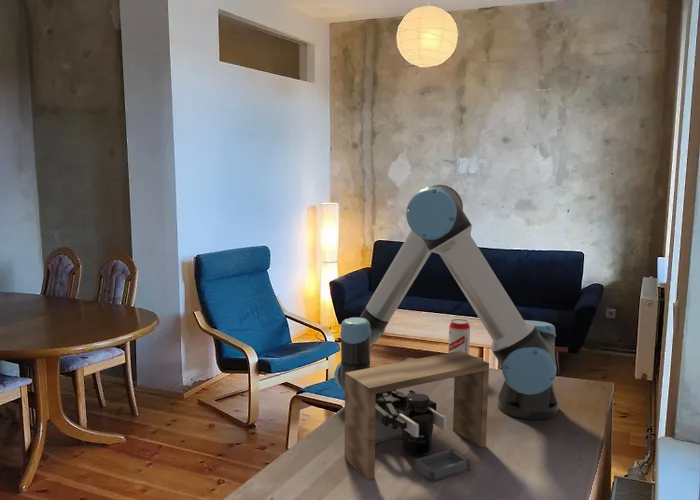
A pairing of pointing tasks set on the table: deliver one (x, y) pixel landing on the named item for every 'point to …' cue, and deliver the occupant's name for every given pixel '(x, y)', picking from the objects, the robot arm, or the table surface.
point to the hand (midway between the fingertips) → (431, 427)
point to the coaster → (386, 432)
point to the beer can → (459, 336)
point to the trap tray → (441, 465)
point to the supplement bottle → (423, 417)
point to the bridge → (405, 374)
